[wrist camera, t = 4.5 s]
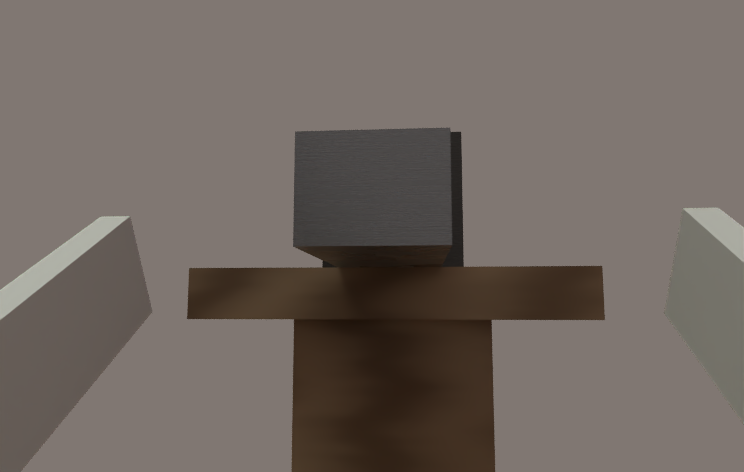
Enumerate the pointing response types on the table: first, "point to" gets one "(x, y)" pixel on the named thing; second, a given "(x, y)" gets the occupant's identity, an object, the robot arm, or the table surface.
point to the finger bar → (379, 197)
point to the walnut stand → (395, 353)
